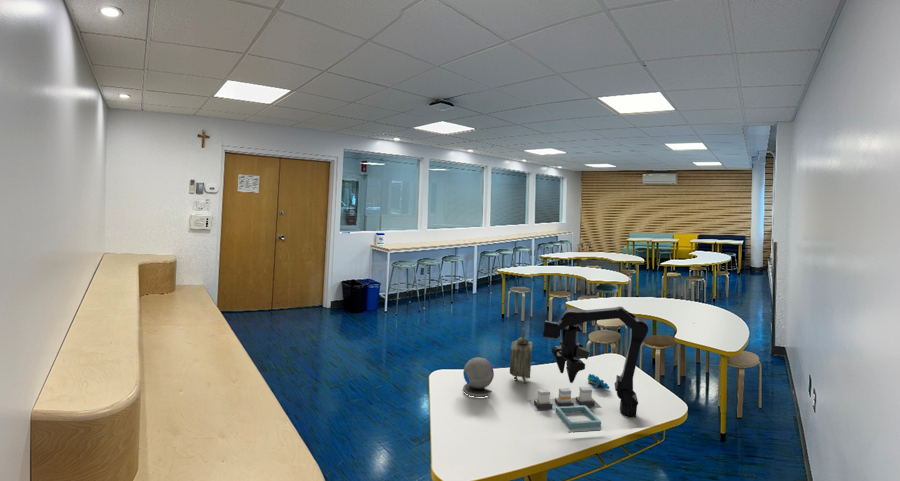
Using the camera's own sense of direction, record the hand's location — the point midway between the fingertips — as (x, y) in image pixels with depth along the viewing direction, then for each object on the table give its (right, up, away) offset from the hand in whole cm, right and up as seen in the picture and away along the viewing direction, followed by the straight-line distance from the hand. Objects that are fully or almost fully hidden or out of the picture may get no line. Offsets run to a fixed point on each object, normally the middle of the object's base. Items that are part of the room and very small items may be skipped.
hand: (566, 377), depth 178 cm
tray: (+1, -14, -11) cm, 18 cm away
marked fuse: (-1, -11, 0) cm, 11 cm away
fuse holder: (-1, -12, +1) cm, 12 cm away
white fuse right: (+8, -11, +2) cm, 14 cm away
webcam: (-35, -10, +12) cm, 38 cm away
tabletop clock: (-15, -9, +24) cm, 30 cm away
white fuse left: (-10, -11, -1) cm, 14 cm away
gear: (+18, -11, +18) cm, 28 cm away
